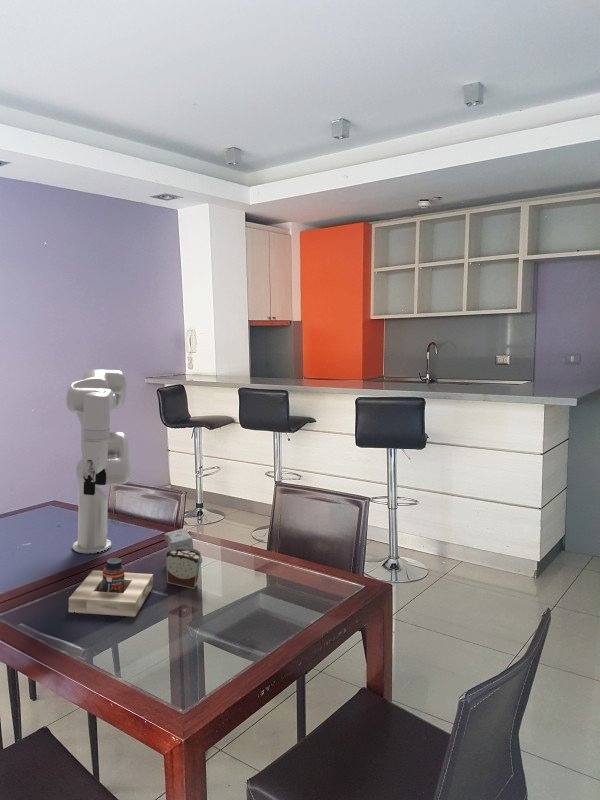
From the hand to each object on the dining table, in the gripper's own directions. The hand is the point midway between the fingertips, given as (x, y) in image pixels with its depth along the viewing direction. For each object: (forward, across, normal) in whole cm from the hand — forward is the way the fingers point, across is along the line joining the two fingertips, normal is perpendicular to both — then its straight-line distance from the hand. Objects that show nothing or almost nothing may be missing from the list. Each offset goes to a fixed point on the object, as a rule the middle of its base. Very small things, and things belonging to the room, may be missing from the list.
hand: (95, 489), depth 177 cm
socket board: (+27, +15, +11) cm, 33 cm away
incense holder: (+28, -12, +24) cm, 39 cm away
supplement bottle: (+27, +14, +11) cm, 33 cm away
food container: (+27, +1, +29) cm, 40 cm away
